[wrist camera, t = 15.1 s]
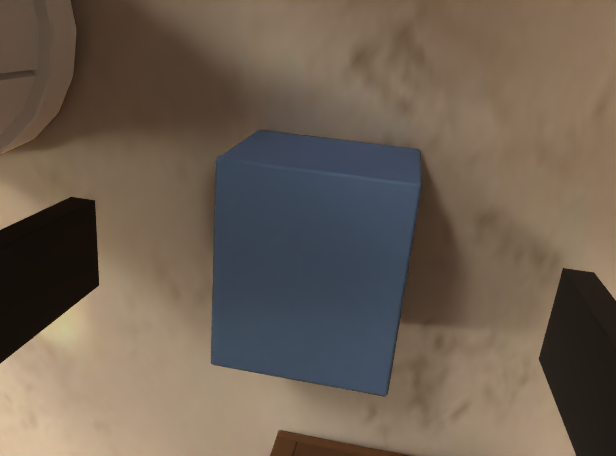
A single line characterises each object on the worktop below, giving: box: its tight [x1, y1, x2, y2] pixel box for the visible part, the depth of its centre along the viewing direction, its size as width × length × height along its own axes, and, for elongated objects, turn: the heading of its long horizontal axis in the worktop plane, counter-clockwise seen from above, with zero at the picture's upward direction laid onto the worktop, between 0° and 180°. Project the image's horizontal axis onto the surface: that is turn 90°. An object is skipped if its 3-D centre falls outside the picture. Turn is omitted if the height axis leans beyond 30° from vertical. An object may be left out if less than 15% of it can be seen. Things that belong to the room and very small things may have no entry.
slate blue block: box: [211, 130, 422, 396], centre depth 16 cm, size 6×5×4 cm
